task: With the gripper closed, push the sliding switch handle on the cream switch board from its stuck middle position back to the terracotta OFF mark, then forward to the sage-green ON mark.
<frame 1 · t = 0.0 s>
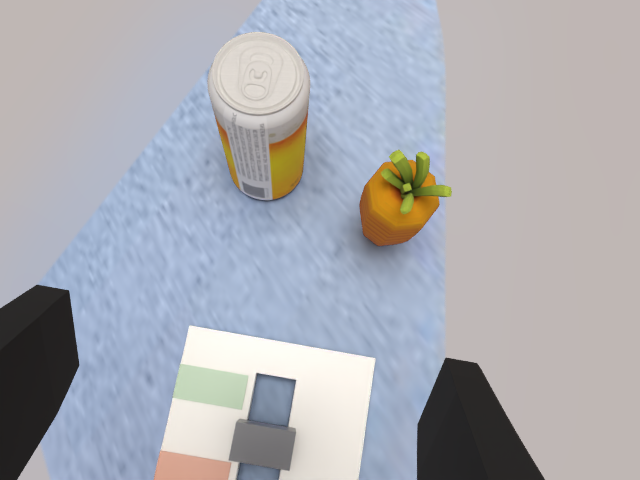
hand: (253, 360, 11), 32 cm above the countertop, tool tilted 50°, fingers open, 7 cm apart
switch board: (268, 423, 41), on the countertop
carrot: (376, 235, 45), on the countertop
beer can: (266, 169, 46), on the countertop
switch handle: (264, 442, 38), point 3 cm above the countertop, slide at 3.0 cm
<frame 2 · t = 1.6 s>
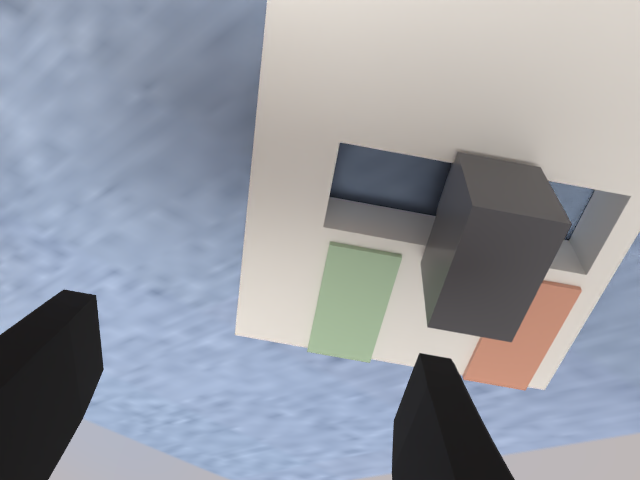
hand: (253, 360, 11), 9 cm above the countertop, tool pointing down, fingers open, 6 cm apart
switch board: (437, 177, 18), on the countertop
switch handle: (479, 229, 16), point 3 cm above the countertop, slide at 3.0 cm
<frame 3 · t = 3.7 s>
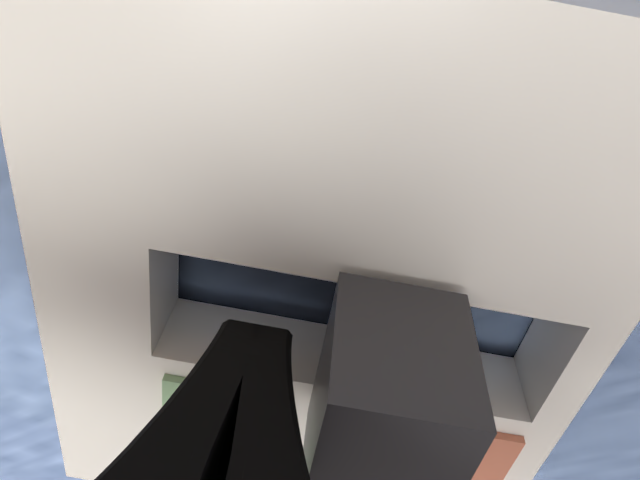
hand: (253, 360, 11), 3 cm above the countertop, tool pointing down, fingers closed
switch board: (323, 276, 13), on the countertop
switch handle: (379, 380, 11), point 3 cm above the countertop, slide at 2.6 cm, touching gripper
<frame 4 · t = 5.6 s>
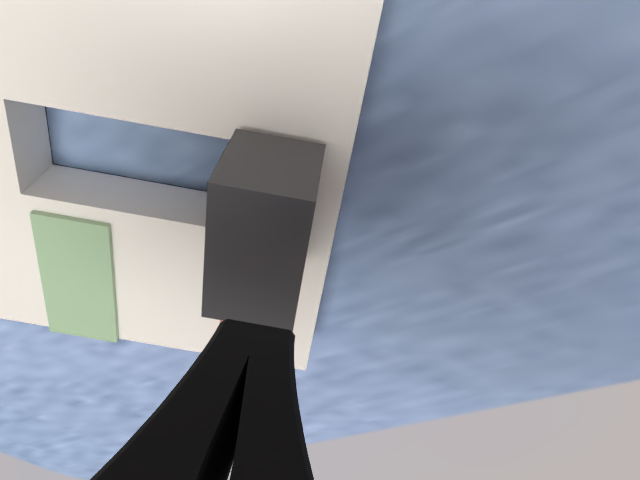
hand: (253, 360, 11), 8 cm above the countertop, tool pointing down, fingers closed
switch board: (156, 142, 17), on the countertop
switch handle: (269, 212, 15), point 3 cm above the countertop, slide at -0.1 cm
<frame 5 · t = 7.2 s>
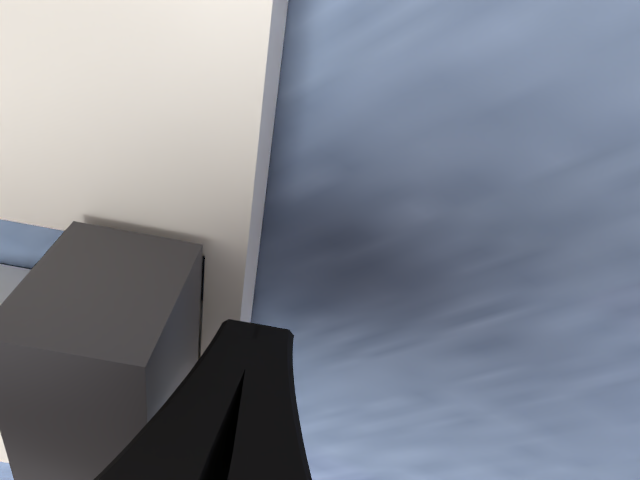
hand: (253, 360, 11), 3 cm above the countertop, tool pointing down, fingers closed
switch board: (9, 218, 13), on the countertop
switch handle: (130, 333, 11), point 3 cm above the countertop, slide at 0.0 cm, touching gripper
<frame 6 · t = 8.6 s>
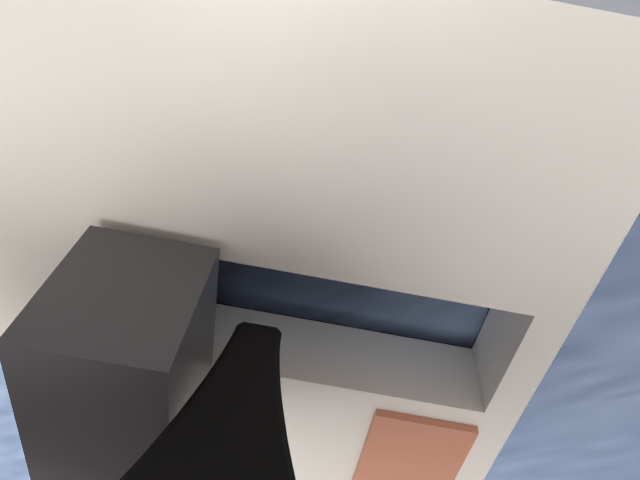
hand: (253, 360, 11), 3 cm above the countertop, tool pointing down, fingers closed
switch board: (279, 267, 13), on the countertop
switch handle: (146, 337, 11), point 3 cm above the countertop, slide at 6.2 cm, touching gripper
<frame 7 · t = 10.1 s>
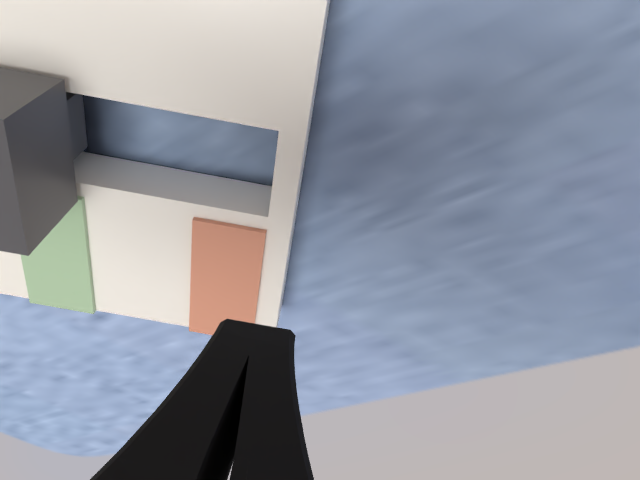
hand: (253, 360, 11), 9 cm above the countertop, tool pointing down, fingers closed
switch board: (129, 120, 18), on the countertop
switch handle: (20, 145, 16), point 3 cm above the countertop, slide at 6.1 cm
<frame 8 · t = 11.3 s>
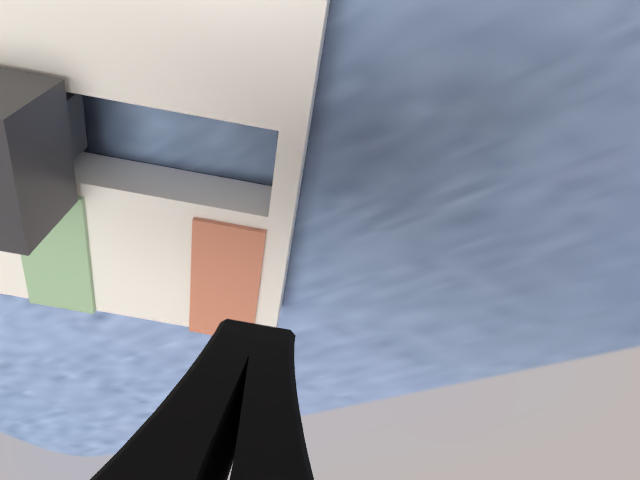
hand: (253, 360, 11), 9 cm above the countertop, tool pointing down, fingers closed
switch board: (129, 120, 18), on the countertop
switch handle: (20, 145, 16), point 3 cm above the countertop, slide at 6.1 cm
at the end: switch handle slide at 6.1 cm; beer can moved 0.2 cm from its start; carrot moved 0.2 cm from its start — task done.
